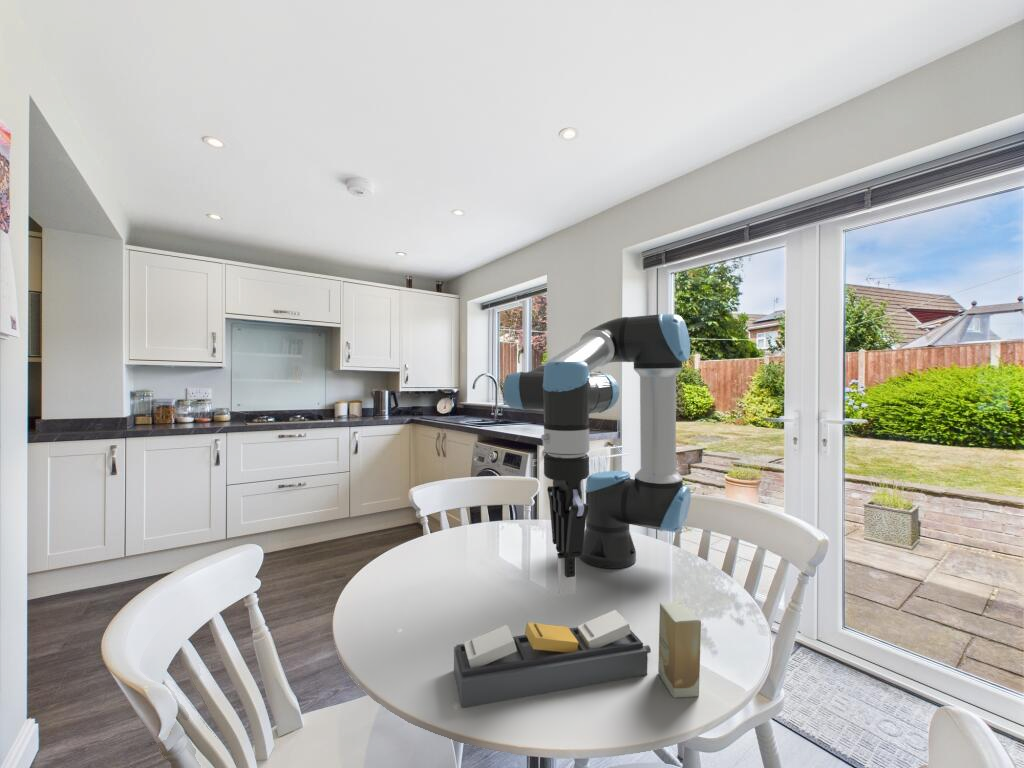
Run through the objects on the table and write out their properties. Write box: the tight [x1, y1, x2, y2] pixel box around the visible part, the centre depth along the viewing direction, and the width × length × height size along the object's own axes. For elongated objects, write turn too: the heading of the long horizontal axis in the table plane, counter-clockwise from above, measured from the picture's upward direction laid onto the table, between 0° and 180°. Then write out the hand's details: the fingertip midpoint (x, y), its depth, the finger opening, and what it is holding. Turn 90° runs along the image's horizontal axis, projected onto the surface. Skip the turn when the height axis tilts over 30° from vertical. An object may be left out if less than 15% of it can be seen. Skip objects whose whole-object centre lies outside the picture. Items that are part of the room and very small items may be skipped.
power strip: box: [453, 627, 652, 708], centre depth 77 cm, size 34×9×5 cm, turn 104°
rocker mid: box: [524, 621, 579, 653], centre depth 77 cm, size 8×5×2 cm, turn 105°
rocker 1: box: [463, 624, 517, 668], centre depth 74 cm, size 8×5×2 cm, turn 104°
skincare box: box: [657, 600, 702, 699], centre depth 74 cm, size 6×4×12 cm
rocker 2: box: [576, 609, 632, 649], centre depth 79 cm, size 8×5×2 cm, turn 104°
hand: (566, 592), depth 78 cm, fingers closed
